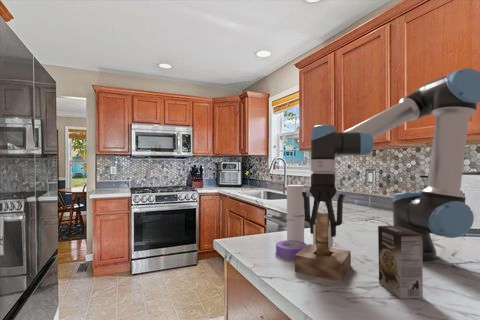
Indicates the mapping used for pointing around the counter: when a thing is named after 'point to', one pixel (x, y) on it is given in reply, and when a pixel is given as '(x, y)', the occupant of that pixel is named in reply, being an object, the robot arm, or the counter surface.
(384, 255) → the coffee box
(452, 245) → the counter surface
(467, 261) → the counter surface
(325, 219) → the peg
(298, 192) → the cylindrical container
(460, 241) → the counter surface
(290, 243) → the masking tape
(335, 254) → the seat block
